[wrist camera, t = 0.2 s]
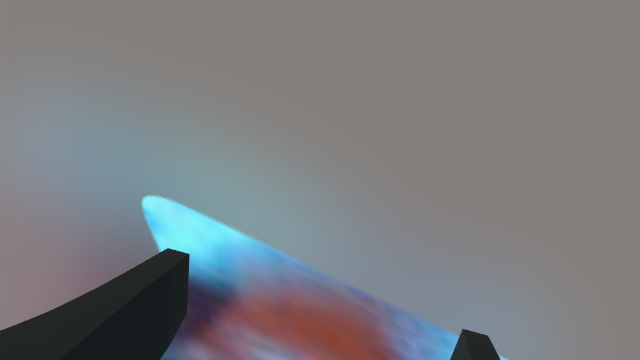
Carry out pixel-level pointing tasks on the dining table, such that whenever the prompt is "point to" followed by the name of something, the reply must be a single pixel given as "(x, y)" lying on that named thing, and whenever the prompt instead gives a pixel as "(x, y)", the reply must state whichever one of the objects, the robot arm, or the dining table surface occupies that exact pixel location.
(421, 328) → the dining table surface
